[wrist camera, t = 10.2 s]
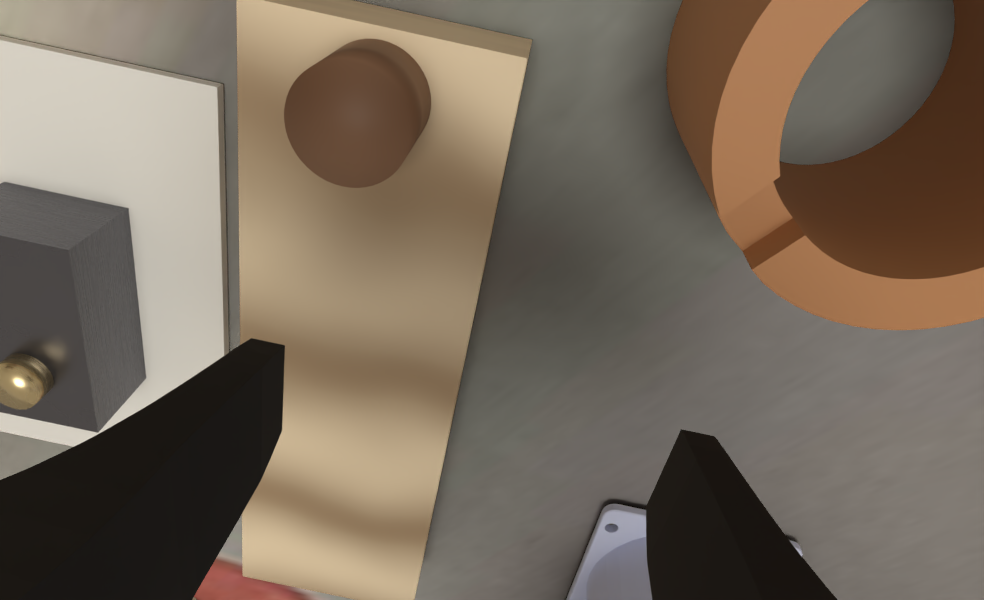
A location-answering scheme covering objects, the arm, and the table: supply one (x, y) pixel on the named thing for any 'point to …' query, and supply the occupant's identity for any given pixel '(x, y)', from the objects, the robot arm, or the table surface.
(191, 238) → the mat
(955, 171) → the bracket
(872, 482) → the table surface
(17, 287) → the lever cap
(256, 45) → the body
